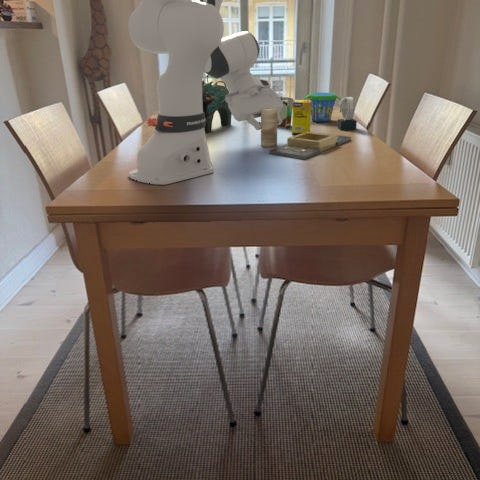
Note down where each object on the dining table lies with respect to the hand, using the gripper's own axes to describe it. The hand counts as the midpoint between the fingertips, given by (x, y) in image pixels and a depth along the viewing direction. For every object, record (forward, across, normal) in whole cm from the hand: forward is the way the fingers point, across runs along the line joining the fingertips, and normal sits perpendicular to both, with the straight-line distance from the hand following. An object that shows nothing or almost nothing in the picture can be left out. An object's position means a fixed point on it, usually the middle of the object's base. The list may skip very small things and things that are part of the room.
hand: (270, 126), depth 137 cm
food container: (-8, +29, +16) cm, 34 cm away
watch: (+8, +37, +1) cm, 38 cm away
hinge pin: (+4, 0, +5) cm, 6 cm away
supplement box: (+2, +21, +7) cm, 22 cm away
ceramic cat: (-20, +9, +29) cm, 36 cm away
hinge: (+12, +7, -4) cm, 14 cm away
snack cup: (-4, +45, +12) cm, 47 cm away
